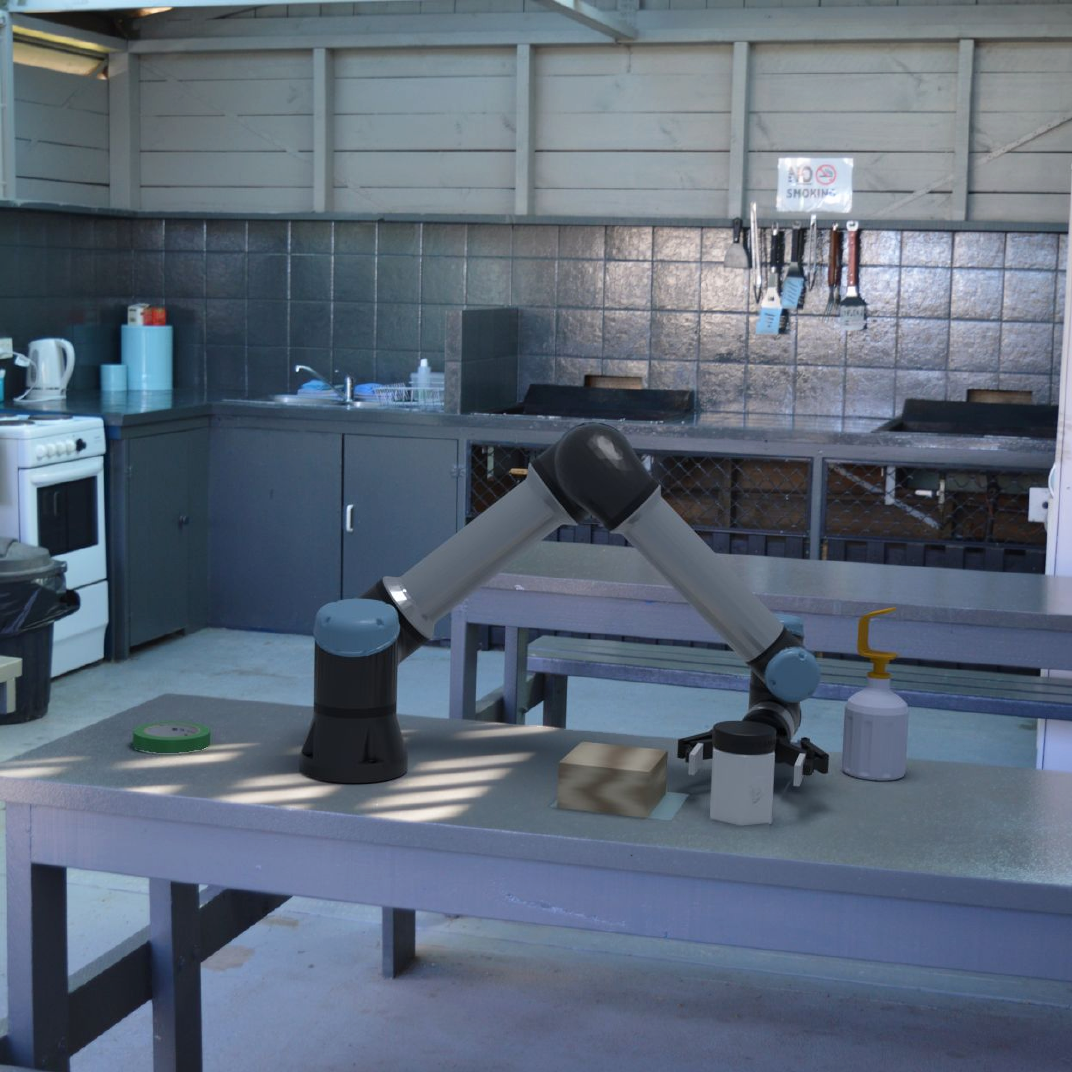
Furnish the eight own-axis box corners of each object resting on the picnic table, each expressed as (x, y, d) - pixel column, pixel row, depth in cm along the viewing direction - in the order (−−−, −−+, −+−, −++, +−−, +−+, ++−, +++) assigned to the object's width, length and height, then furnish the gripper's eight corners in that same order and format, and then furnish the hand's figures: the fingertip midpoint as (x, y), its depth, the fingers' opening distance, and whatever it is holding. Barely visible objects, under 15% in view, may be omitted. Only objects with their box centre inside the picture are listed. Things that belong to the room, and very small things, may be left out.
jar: (726, 830, 187) (731, 737, 185) (694, 812, 194) (698, 722, 193) (787, 824, 190) (791, 732, 189) (753, 806, 198) (757, 718, 196)
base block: (557, 807, 193) (558, 762, 192) (580, 784, 204) (581, 741, 203) (647, 818, 189) (649, 772, 189) (665, 793, 201) (667, 750, 200)
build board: (549, 809, 193) (549, 806, 193) (575, 784, 205) (575, 781, 205) (670, 823, 189) (670, 820, 188) (689, 797, 201) (689, 794, 201)
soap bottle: (895, 785, 210) (905, 614, 208) (833, 775, 215) (842, 607, 212) (912, 771, 218) (922, 606, 216) (852, 762, 223) (861, 600, 220)
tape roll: (225, 744, 222) (225, 727, 222) (177, 760, 212) (178, 742, 212) (166, 734, 227) (166, 717, 226) (117, 750, 217) (117, 732, 216)
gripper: (852, 768, 209) (840, 809, 188) (677, 750, 215) (647, 788, 195) (855, 716, 208) (843, 751, 187) (679, 700, 215) (650, 732, 194)
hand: (743, 770), depth 191 cm, fingers open, 13 cm apart
